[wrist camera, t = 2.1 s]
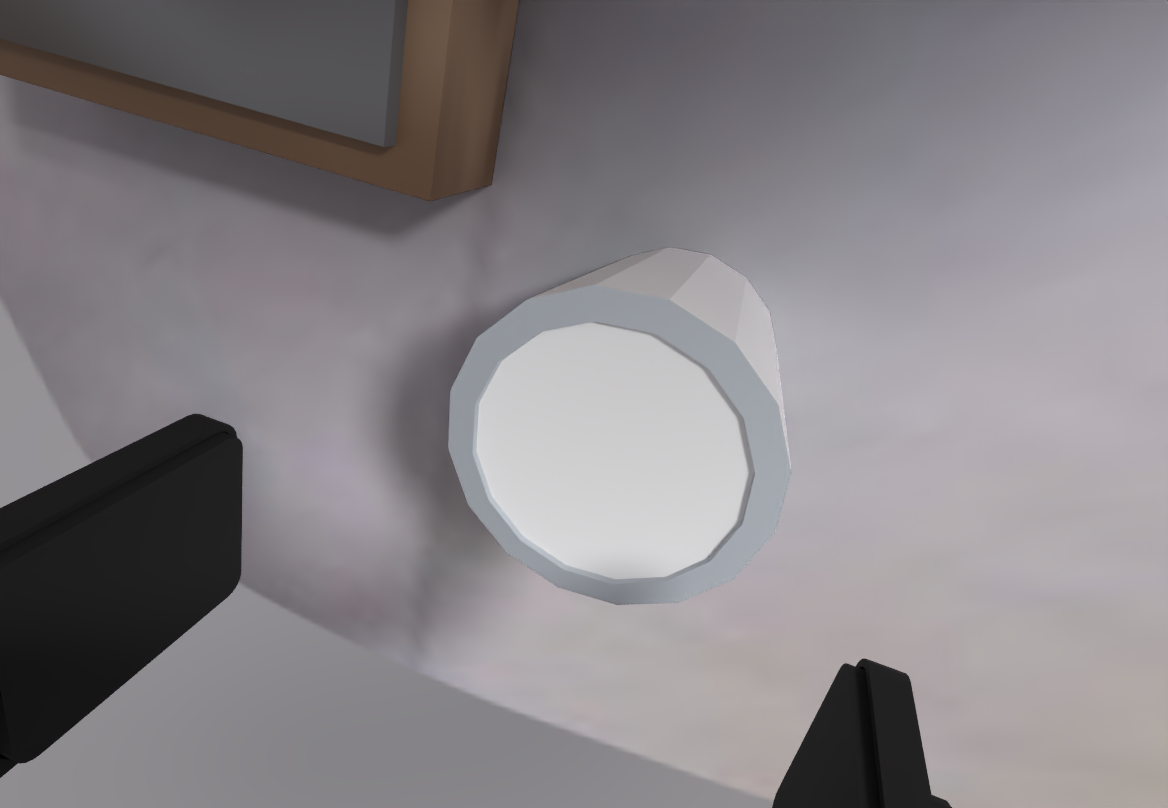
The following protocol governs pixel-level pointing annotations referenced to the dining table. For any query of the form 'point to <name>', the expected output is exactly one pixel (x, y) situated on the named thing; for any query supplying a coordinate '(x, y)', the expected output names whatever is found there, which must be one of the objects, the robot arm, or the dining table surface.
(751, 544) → the shot glass
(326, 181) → the dining table surface
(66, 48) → the tray
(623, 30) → the dining table surface
